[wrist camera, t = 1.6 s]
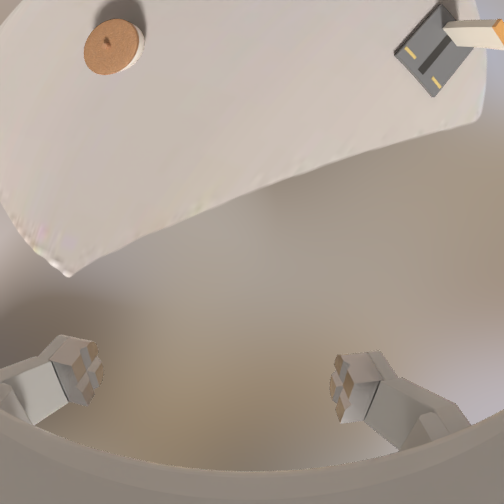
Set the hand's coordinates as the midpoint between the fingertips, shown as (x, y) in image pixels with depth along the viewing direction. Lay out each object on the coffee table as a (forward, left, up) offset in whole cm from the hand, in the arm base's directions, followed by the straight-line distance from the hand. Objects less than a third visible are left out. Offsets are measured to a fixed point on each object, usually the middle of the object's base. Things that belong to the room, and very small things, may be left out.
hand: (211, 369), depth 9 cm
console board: (-24, +37, -49) cm, 66 cm away
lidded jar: (-15, -24, -50) cm, 57 cm away
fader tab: (-29, +40, -48) cm, 69 cm away
